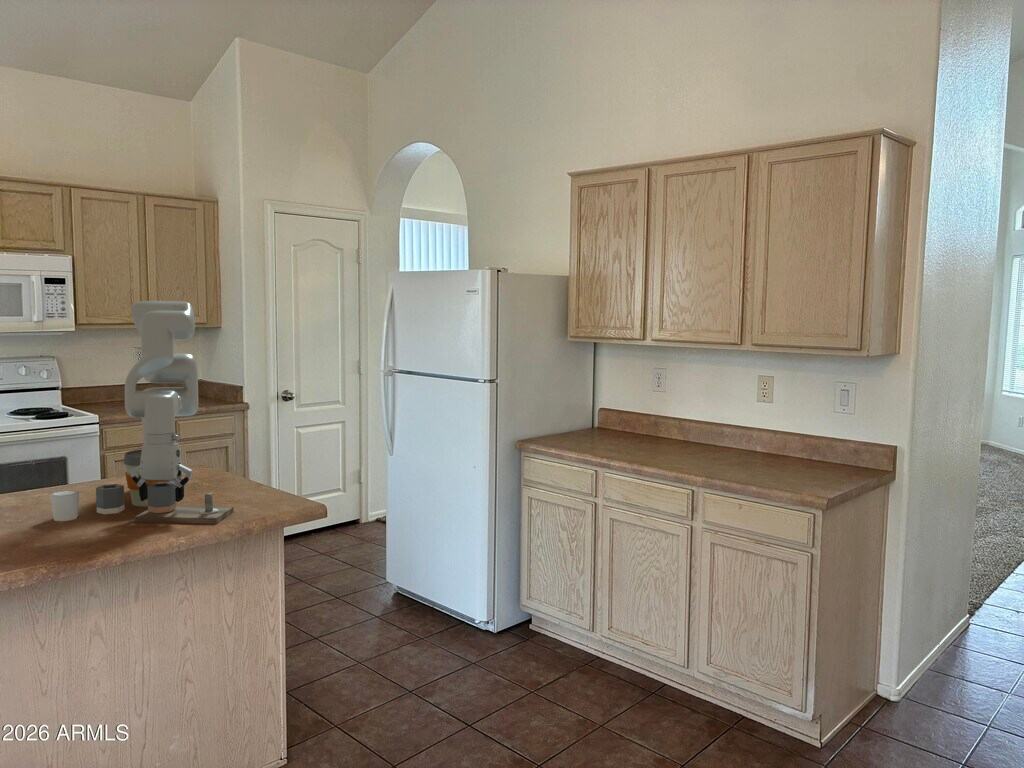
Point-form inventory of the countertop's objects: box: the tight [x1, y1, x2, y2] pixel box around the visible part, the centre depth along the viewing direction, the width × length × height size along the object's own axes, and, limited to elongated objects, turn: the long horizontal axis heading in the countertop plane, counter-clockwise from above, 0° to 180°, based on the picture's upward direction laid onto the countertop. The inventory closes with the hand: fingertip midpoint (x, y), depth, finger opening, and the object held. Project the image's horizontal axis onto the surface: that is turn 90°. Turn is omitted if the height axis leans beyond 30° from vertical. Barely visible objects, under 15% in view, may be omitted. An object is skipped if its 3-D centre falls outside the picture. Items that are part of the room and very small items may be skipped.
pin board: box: [134, 492, 234, 525], centre depth 211 cm, size 12×22×6 cm, turn 89°
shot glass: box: [49, 490, 80, 522], centre depth 207 cm, size 7×7×7 cm
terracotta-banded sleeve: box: [147, 482, 177, 513], centre depth 211 cm, size 7×6×7 cm
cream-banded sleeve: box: [95, 483, 125, 515], centre depth 215 cm, size 7×6×7 cm
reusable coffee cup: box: [123, 448, 169, 507], centre depth 225 cm, size 13×12×15 cm
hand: (161, 500), depth 211 cm, fingers open, 9 cm apart
